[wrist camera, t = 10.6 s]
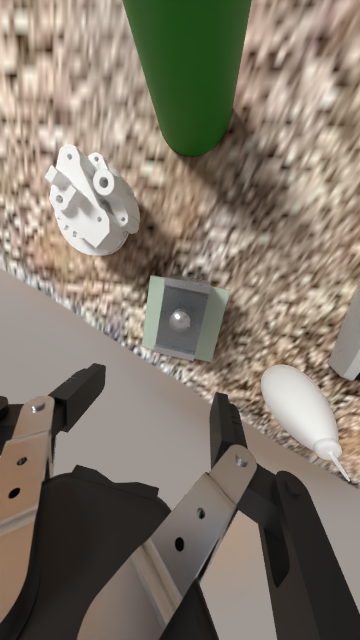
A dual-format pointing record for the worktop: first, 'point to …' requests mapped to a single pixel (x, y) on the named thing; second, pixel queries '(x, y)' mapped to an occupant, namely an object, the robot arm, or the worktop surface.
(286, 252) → the worktop surface
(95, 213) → the mechanical part
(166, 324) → the housing
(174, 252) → the worktop surface
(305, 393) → the sauce bottle
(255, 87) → the worktop surface
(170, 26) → the motor
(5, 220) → the worktop surface
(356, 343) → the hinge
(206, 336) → the stand
